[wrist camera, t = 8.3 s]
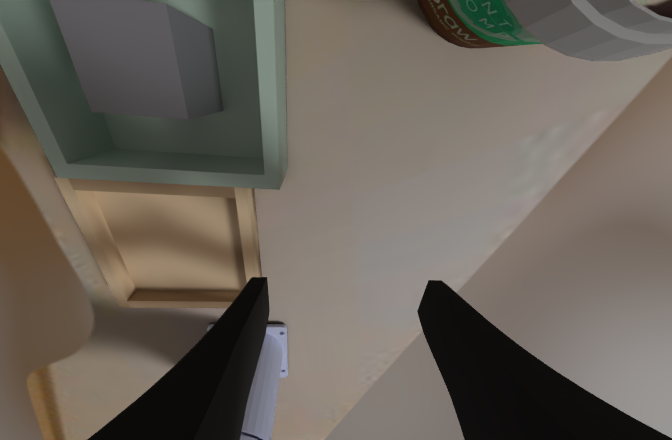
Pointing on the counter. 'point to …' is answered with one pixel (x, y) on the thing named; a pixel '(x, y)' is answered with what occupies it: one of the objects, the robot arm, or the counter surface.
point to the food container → (557, 25)
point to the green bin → (153, 132)
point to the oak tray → (168, 240)
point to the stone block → (141, 58)
